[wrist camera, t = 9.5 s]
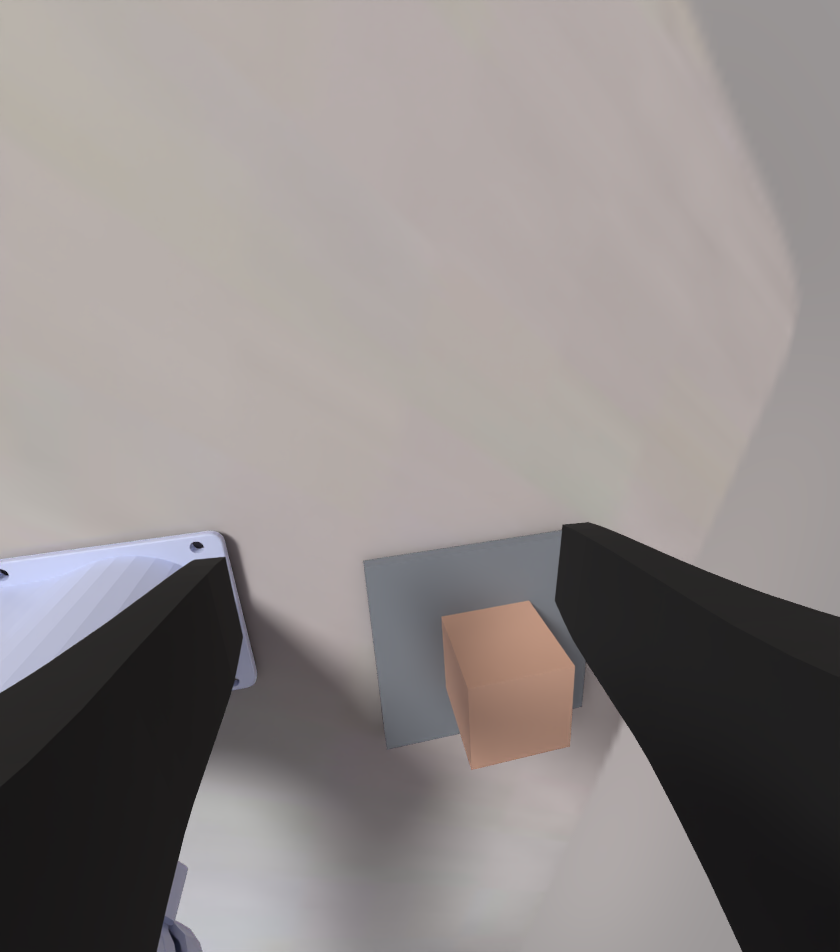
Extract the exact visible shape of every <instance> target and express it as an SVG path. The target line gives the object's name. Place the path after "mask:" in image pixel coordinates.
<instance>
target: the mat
mask: <svg viewBox="0 0 840 952" xmlns="http://www.w3.org/2000/svg"><path fill="white" fill-rule="evenodd" d="M561 536H562V530H560V531H554V532H547V533H541V534H534V535H528V536H521V537H515V538H508V539H502V540H495V541H489V542H482V543H476V544H469V545H463V546H456V547H450V548H443V549H437V550H430V551H424V552H417V553H411V554H404V555H398V556H391V557H385V558H378V559H372V560H365V561H363V563H364V571H365V579H366V587H367V595H368V603H369V611H370V619H371V627H372V635H373V643H374V651H375V659H376V667H377V675H378V683H379V691H380V699H381V707H382V715H383V723H384V731H385V739H386V746H387V750H388V749H392V748H397V747H401V746H406V745H410V744H415V743H419V742H424V741H428V740H433V739H438V738H442V737H447V736H451V735H456V734H460V731H459V728H458V725H457V722H456V718H455V715H454V712H453V709H452V705H451V702H450V699H449V696H448V693H447V689H446V679H445V664H444V649H443V634H442V619H441V617H442V616H448V615H453V614H458V613H464V612H469V611H475V610H480V609H486V608H491V607H496V606H502V605H507V604H513V603H518V602H524V601H530V602H531V604H532V605H533V607H534V608H535V610H536V611H537V612H538V614H539V615H540V617H541V618H542V620H543V621H544V622H545V624H546V625H547V627H548V628H549V630H550V631H551V633H552V634H553V635H554V637H555V638H556V640H557V641H558V643H559V644H560V645H561V647H562V648H563V650H564V651H565V653H566V654H567V655H568V657H569V658H570V660H571V661H572V663H573V664H574V665H575V675H574V690H573V706H572V709H574V708H578V707H582V698H583V686H584V674H585V662H586V660H585V659H584V657H583V656H582V654H581V653H580V651H579V649H578V648H577V646H576V644H575V643H574V641H573V639H572V637H571V635H570V633H569V631H568V629H567V627H566V625H565V623H564V621H563V618H562V616H561V614H560V612H559V609H558V607H557V605H556V603H555V593H556V583H557V574H558V564H559V555H560V545H561Z"/></svg>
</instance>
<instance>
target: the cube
mask: <svg viewBox="0 0 840 952" xmlns="http://www.w3.org/2000/svg"><path fill="white" fill-rule="evenodd" d="M441 619H442V634H443V649H444V664H445V679H446V689H447V693H448V696H449V699H450V702H451V705H452V709H453V712H454V715H455V718H456V722H457V725H458V728H459V731H460V734H461V738H462V741H463V744H464V747H465V750H466V754H467V757H468V760H469V763H470V767H471V770H473V769H477V768H482V767H486V766H490V765H494V764H498V763H502V762H507V761H511V760H515V759H519V758H523V757H527V756H532V755H536V754H540V753H544V752H548V751H552V750H557V749H561V748H565V747H569V746H570V737H571V721H572V706H573V690H574V675H575V665H574V664H573V663H572V661H571V660H570V658H569V657H568V655H567V654H566V653H565V651H564V650H563V648H562V647H561V645H560V644H559V643H558V641H557V640H556V638H555V637H554V635H553V634H552V633H551V631H550V630H549V628H548V627H547V625H546V624H545V622H544V621H543V620H542V618H541V617H540V615H539V614H538V612H537V611H536V610H535V608H534V607H533V605H532V604H531V602H530V601H524V602H518V603H513V604H507V605H502V606H496V607H491V608H486V609H480V610H475V611H469V612H464V613H458V614H453V615H448V616H442V617H441Z"/></svg>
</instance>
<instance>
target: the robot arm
mask: <svg viewBox="0 0 840 952" xmlns="http://www.w3.org/2000/svg"><path fill="white" fill-rule="evenodd" d="M193 542H200V543H202V544H203V546H204V548H201V549H200V548H196V547H194V546H193V544H192V543H193ZM0 569H3V570H5V571H7V573H8V574H9V575H4V574H2V573H1V571H0V952H203V951H202V948H201V945H200V942H199V941H198V939H197V938H196V936H195V935H194V933H193V932H192V930H191V929H190V928H188V927H186V926H185V925H183V924H182V923H180V922H177V921H175V918H176V914H177V910H178V906H179V903H180V899H181V895H182V891H183V887H184V883H185V879H186V875H187V871H188V868H187V866H186V865H184V864H182V863H181V862H179V861H178V859H179V854H180V850H181V846H182V842H183V838H184V834H185V831H186V827H187V824H188V821H189V817H190V814H191V811H192V807H193V804H194V801H195V798H196V795H197V792H198V789H199V786H200V783H201V780H202V777H203V775H204V772H205V769H206V766H207V763H208V760H209V757H210V754H211V751H212V748H213V745H214V742H215V739H216V736H217V733H218V730H219V728H220V725H221V722H222V719H223V716H224V713H225V710H226V707H227V704H228V701H229V697H230V694H231V691H232V690H237V689H243V688H248V687H250V686H252V685H253V684H255V682H256V679H257V669H256V665H255V661H254V657H253V653H252V649H251V645H250V641H249V637H248V633H247V629H246V625H245V620H244V616H243V612H242V608H241V604H240V600H239V596H238V592H237V588H236V584H235V580H234V576H233V572H232V568H231V564H230V559H229V555H228V551H227V547H226V543H225V539H224V537H223V536H222V535H221V534H220V533H219V532H216V531H203V532H196V533H189V534H181V535H174V536H167V537H159V538H152V539H145V540H137V541H130V542H122V543H115V544H108V545H100V546H93V547H86V548H78V549H71V550H64V551H56V552H49V553H42V554H34V555H27V556H20V557H12V558H5V559H0ZM555 603H556V605H557V607H558V609H559V612H560V614H561V616H562V618H563V621H564V623H565V625H566V627H567V629H568V631H569V633H570V635H571V637H572V639H573V641H574V643H575V644H576V646H577V648H578V649H579V651H580V653H581V654H582V656H583V657H584V659H585V660H586V662H587V664H588V665H589V667H590V668H591V670H592V671H593V673H594V675H595V676H596V678H597V679H598V681H599V682H600V684H601V685H602V687H603V688H604V690H605V692H606V693H607V695H608V696H609V698H610V699H611V701H612V702H613V704H614V705H615V707H616V709H617V710H618V712H619V713H620V715H621V716H622V718H623V719H624V721H625V722H626V724H627V726H628V727H629V728H630V730H631V732H632V733H633V735H634V736H635V738H636V740H637V741H638V743H639V745H640V747H641V748H642V750H643V752H644V753H645V755H646V757H647V758H648V760H649V762H650V764H651V766H652V768H653V770H654V771H655V774H656V775H657V777H658V779H659V781H660V783H661V785H662V787H663V789H664V791H665V793H666V795H667V796H668V798H669V800H670V802H671V804H672V806H673V808H674V810H675V812H676V814H677V816H678V818H679V820H680V822H681V824H682V826H683V828H684V830H685V832H686V833H687V836H688V838H689V840H690V842H691V844H692V846H693V848H694V850H695V852H696V854H697V856H698V858H699V860H700V862H701V864H702V866H703V868H704V870H705V872H706V874H707V876H708V878H709V880H710V883H711V885H712V887H713V889H714V891H715V894H716V896H717V898H718V900H719V902H720V904H721V907H722V909H723V911H724V913H725V915H726V917H727V920H728V922H729V924H730V926H731V928H732V930H733V932H734V935H735V937H736V939H737V941H738V943H739V945H740V948H741V950H742V952H840V617H837V616H834V615H831V614H827V613H824V612H820V611H817V610H814V609H811V608H808V607H805V606H802V605H799V604H796V603H793V602H790V601H787V600H784V599H780V598H777V597H774V596H771V595H768V594H765V593H762V592H760V591H757V590H754V589H751V588H749V587H746V586H743V585H741V584H738V583H736V582H733V581H730V580H728V579H725V578H723V577H720V576H718V575H715V574H712V573H710V572H707V571H705V570H702V569H700V568H698V567H695V566H693V565H690V564H688V563H686V562H683V561H681V560H679V559H676V558H674V557H672V556H669V555H667V554H665V553H662V552H660V551H658V550H656V549H653V548H651V547H649V546H647V545H644V544H642V543H640V542H637V541H635V540H633V539H631V538H628V537H626V536H624V535H621V534H619V533H616V532H614V531H612V530H609V529H607V528H604V527H601V526H599V525H596V524H592V523H589V522H587V523H577V524H566V525H563V526H562V536H561V545H560V555H559V564H558V574H557V583H556V593H555ZM235 678H237V679H238V680H235Z"/></svg>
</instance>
